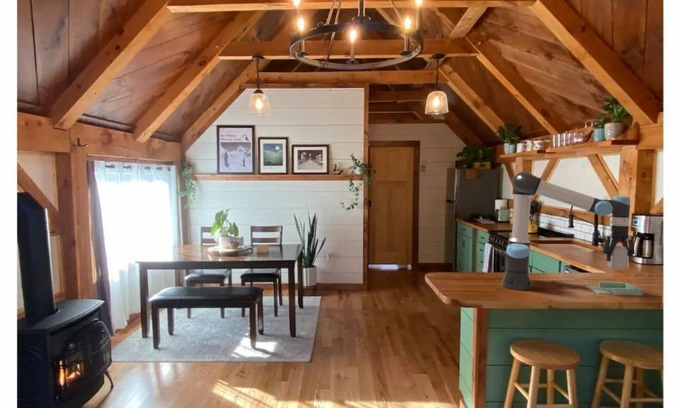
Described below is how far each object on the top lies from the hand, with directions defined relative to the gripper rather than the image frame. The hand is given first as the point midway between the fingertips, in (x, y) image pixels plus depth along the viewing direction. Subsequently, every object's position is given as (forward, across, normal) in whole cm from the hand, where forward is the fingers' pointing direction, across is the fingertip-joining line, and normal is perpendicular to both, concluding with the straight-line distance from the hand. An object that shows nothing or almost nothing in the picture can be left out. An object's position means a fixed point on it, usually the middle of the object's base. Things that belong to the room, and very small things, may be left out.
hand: (617, 267), depth 206 cm
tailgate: (+13, -6, 0) cm, 14 cm away
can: (+1, 0, 0) cm, 1 cm away
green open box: (+14, +1, 0) cm, 14 cm away
